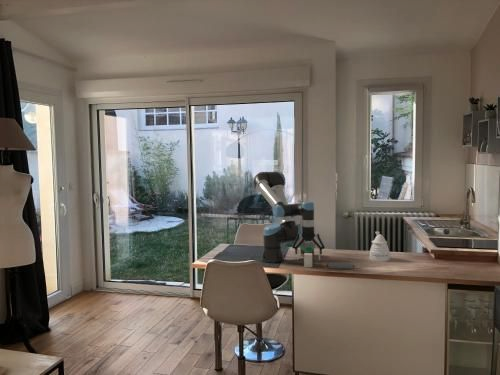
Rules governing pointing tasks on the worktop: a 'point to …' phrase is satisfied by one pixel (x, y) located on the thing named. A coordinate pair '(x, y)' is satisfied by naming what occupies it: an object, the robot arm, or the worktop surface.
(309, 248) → the food container
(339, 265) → the rubber mat
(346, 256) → the worktop surface
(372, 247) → the honey pot
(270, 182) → the robot arm
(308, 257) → the card box
